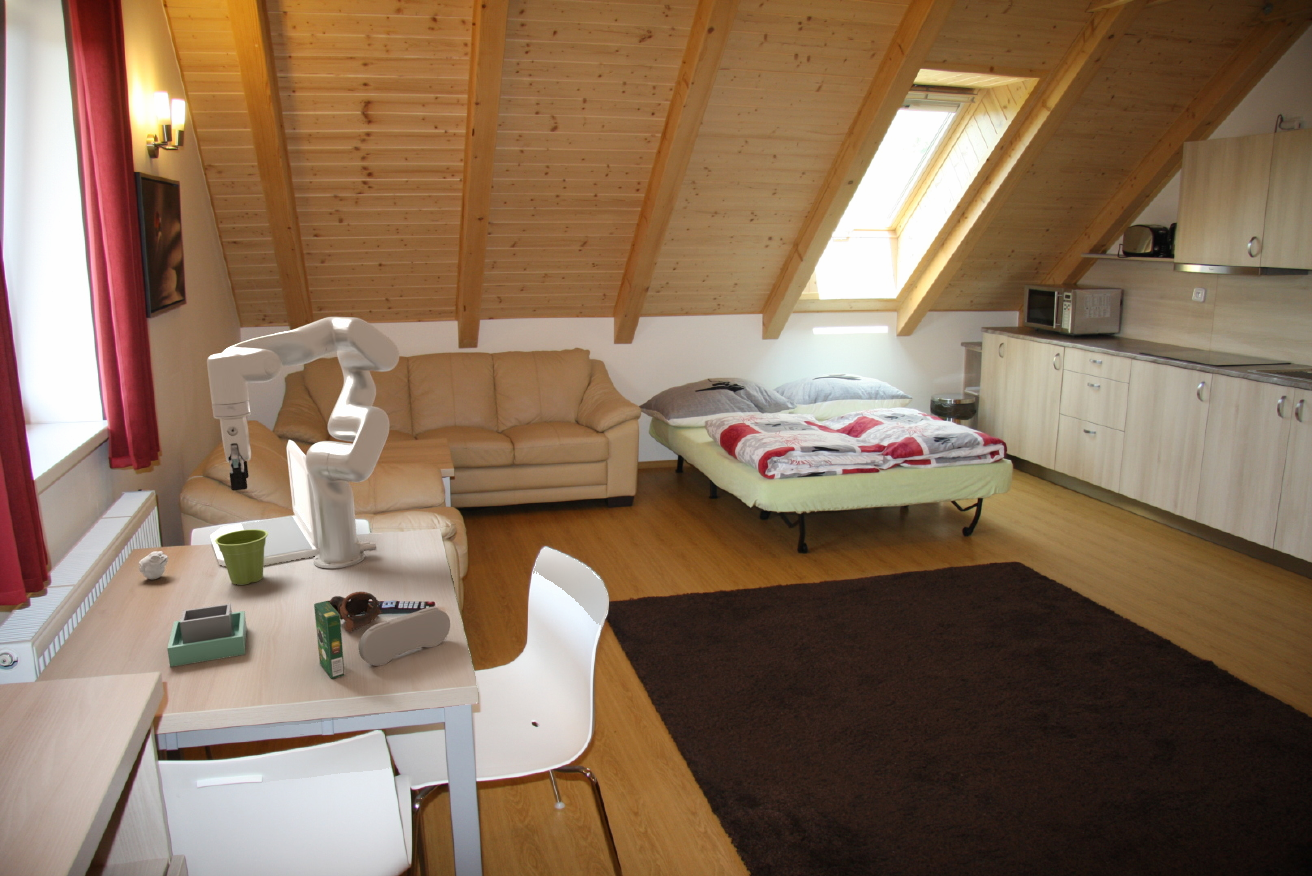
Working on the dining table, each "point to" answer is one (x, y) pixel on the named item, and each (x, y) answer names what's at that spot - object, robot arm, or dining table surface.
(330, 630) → the coffee box
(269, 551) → the laptop
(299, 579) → the dining table surface
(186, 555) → the dining table surface
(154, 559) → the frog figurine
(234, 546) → the plant pot
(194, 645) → the big crate
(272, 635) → the dining table surface
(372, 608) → the pottery mug
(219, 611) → the small crate
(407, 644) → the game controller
